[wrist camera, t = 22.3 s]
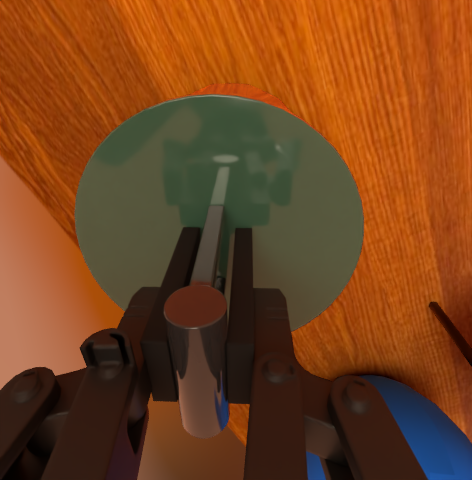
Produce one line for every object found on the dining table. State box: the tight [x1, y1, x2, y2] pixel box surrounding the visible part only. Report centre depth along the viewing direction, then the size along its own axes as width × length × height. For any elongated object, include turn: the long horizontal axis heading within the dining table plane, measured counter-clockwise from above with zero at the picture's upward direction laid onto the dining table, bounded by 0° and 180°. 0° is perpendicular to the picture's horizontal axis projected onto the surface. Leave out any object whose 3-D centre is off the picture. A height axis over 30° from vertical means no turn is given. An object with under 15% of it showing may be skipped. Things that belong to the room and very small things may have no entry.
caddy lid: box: [75, 92, 364, 438], centre depth 12 cm, size 14×14×8 cm
